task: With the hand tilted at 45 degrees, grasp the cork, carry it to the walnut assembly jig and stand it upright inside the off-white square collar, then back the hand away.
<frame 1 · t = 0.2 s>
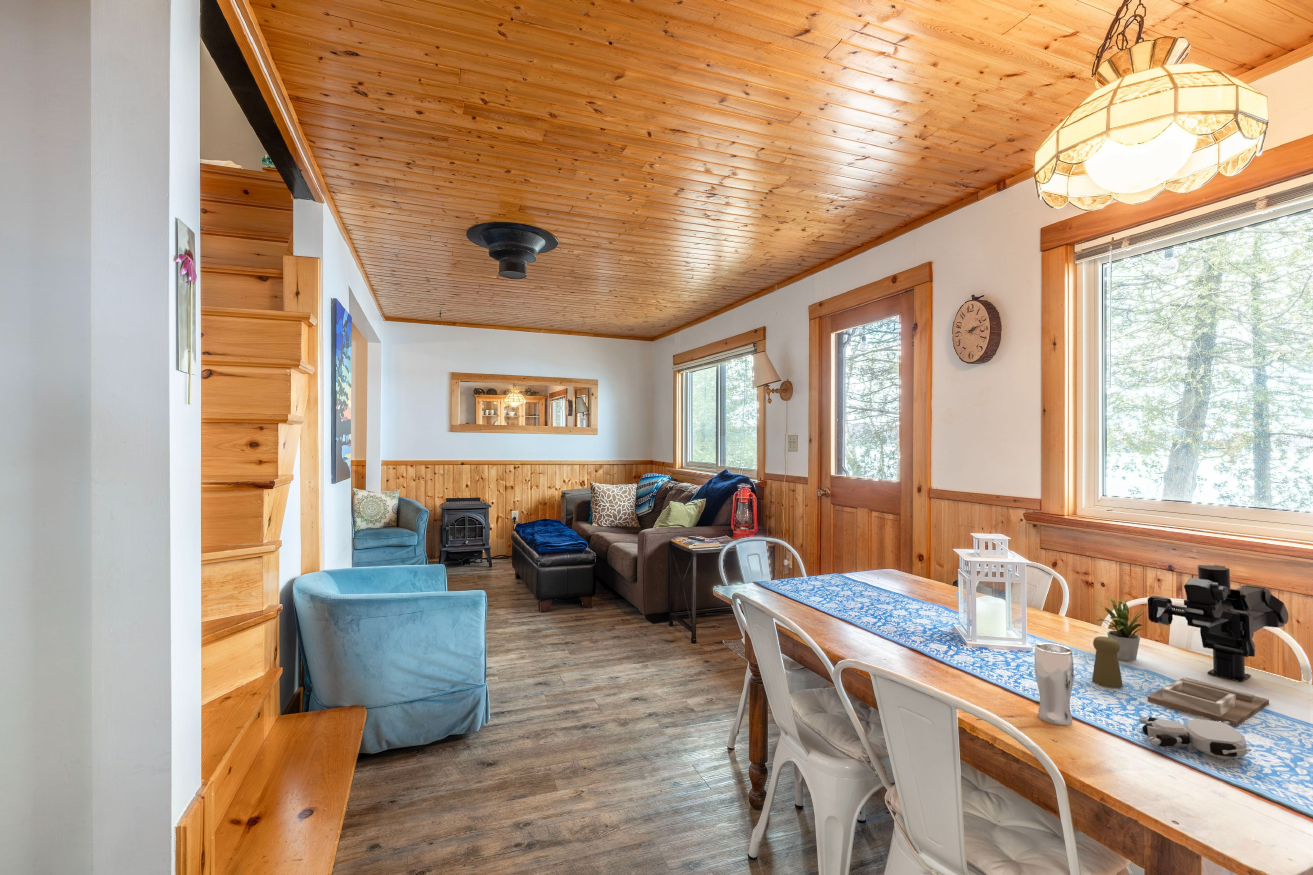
hand: (1181, 624, 137), 17 cm above the table, tool horizontal, fingers open, 9 cm apart
house plant: (1118, 656, 164), on the table
beer glass: (1055, 720, 127), on the table
assembly jig: (1207, 702, 134), on the table
robot toy: (1192, 749, 115), on the table
cork: (1107, 683, 146), on the table
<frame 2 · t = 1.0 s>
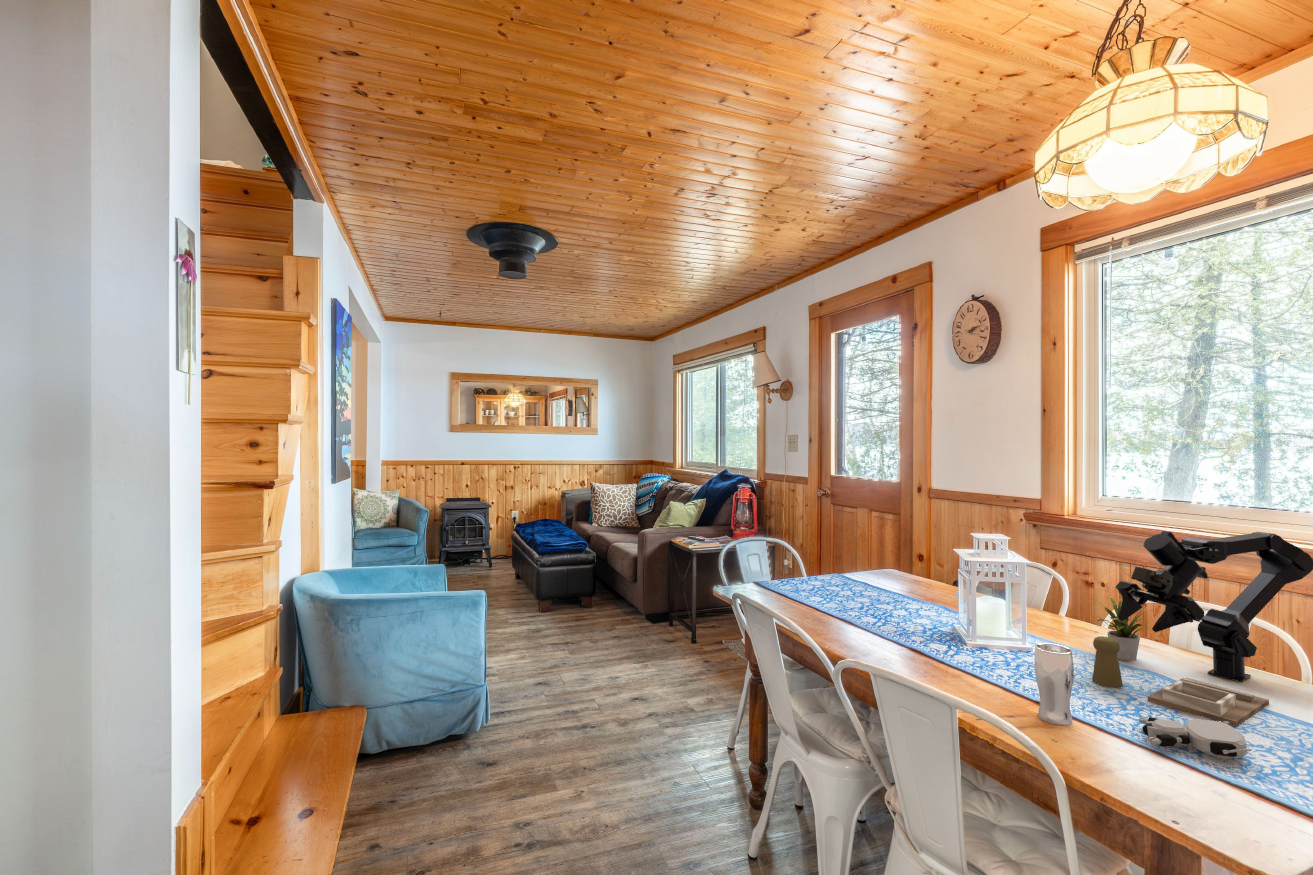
hand: (1136, 625, 147), 14 cm above the table, tool tilted 45°, fingers open, 9 cm apart
nothing on the table moved.
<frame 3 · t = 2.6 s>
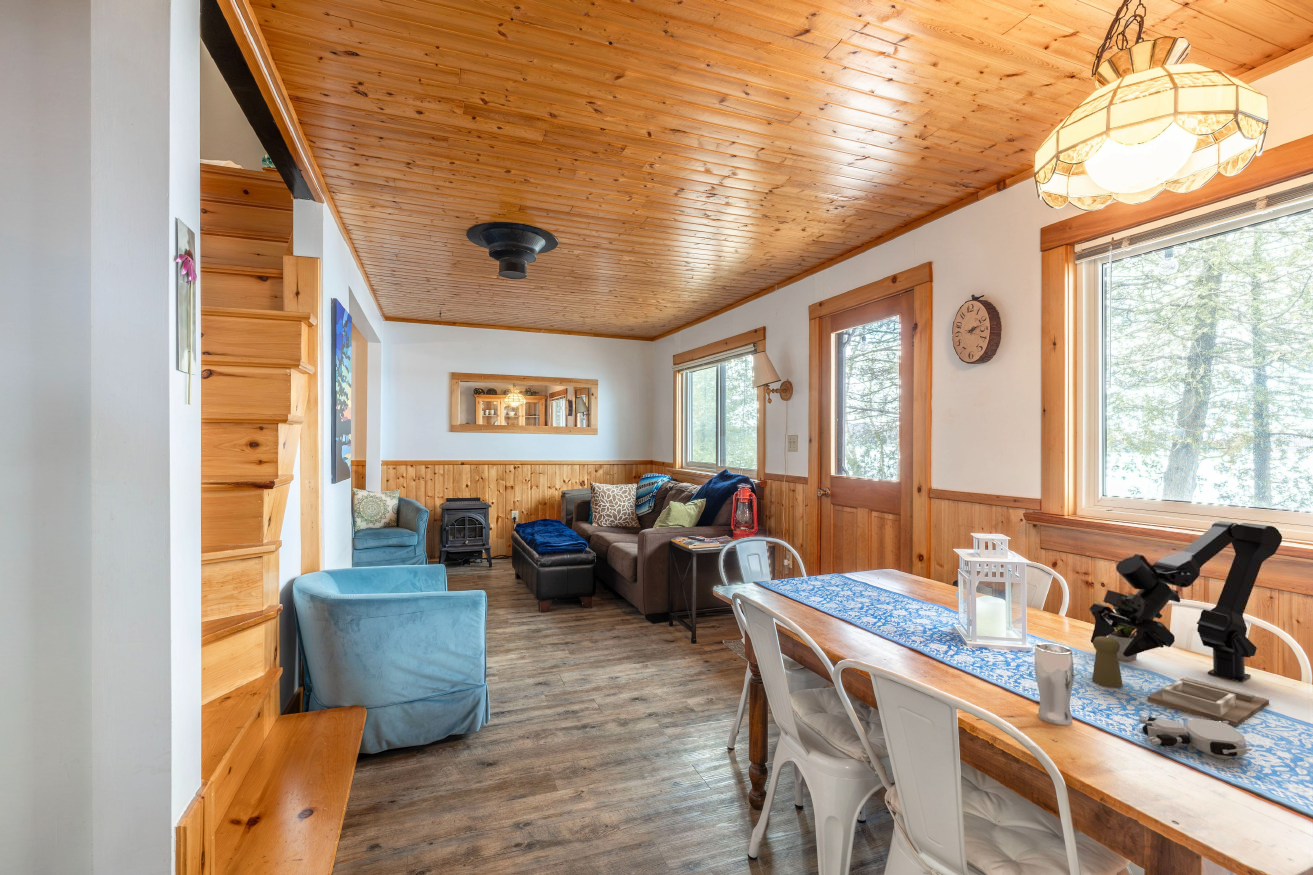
hand: (1108, 649, 146), 8 cm above the table, tool tilted 45°, fingers open, 9 cm apart
nothing on the table moved.
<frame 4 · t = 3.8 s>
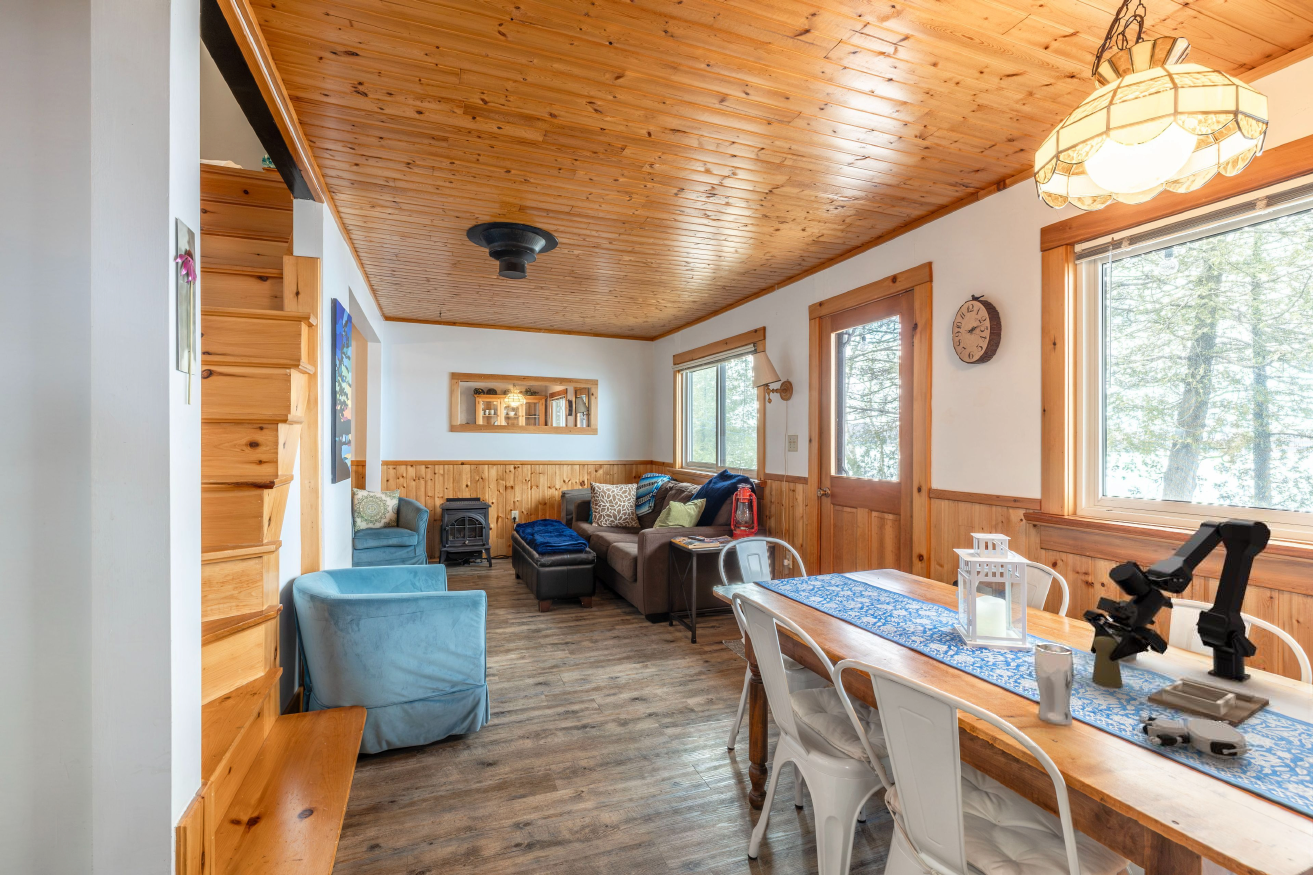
hand: (1101, 656, 146), 7 cm above the table, tool tilted 45°, fingers closed on cork, 5 cm apart
cork: (1107, 683, 146), on the table, touching gripper
everything else where it was.
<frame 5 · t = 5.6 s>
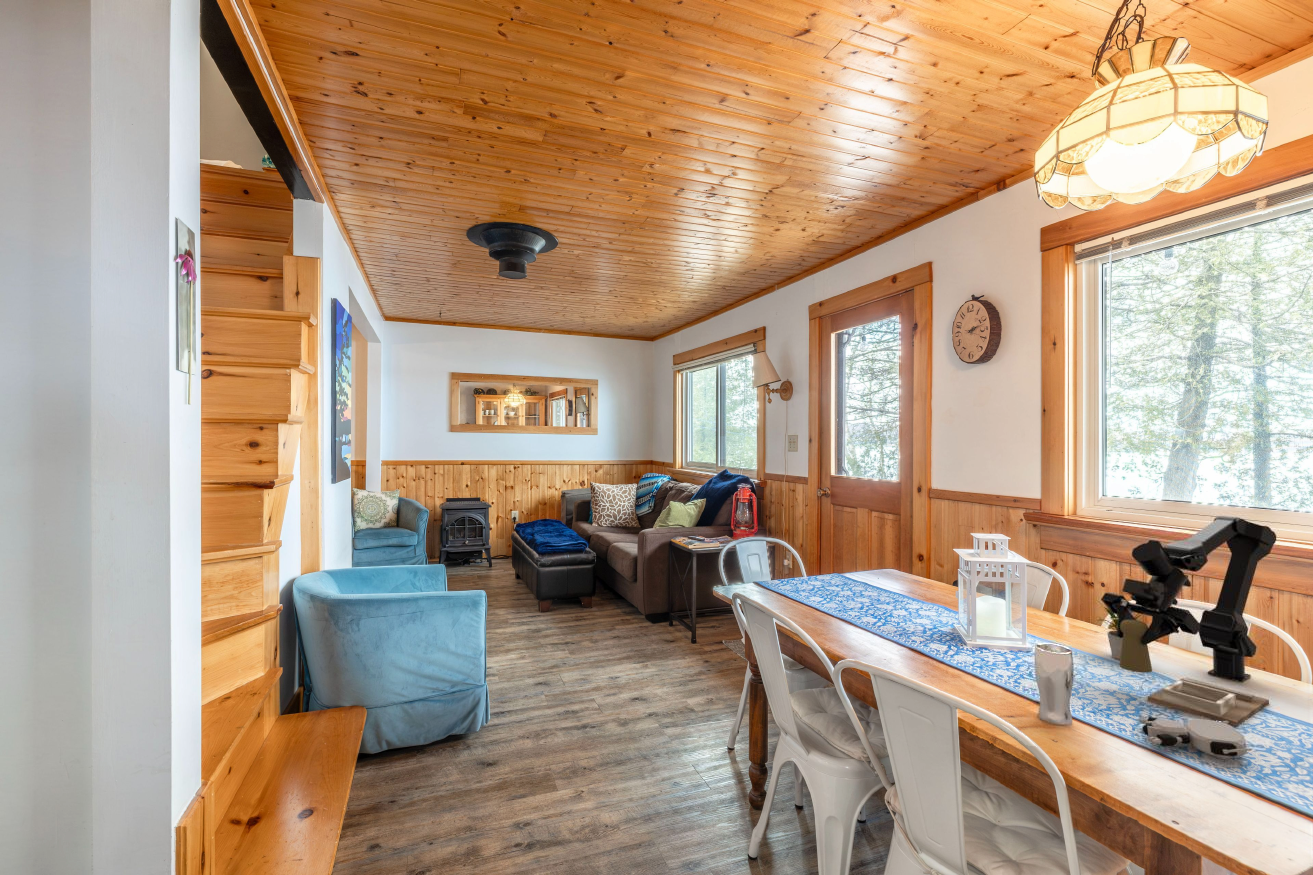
hand: (1130, 640, 140), 12 cm above the table, tool tilted 45°, fingers closed on cork, 5 cm apart
cork: (1135, 668, 141), point 5 cm above the table, touching gripper
everything else where it was.
when the fingers open (9 cm above the table, at t = 7.6 s): cork drops 1 cm, resting on assembly jig.
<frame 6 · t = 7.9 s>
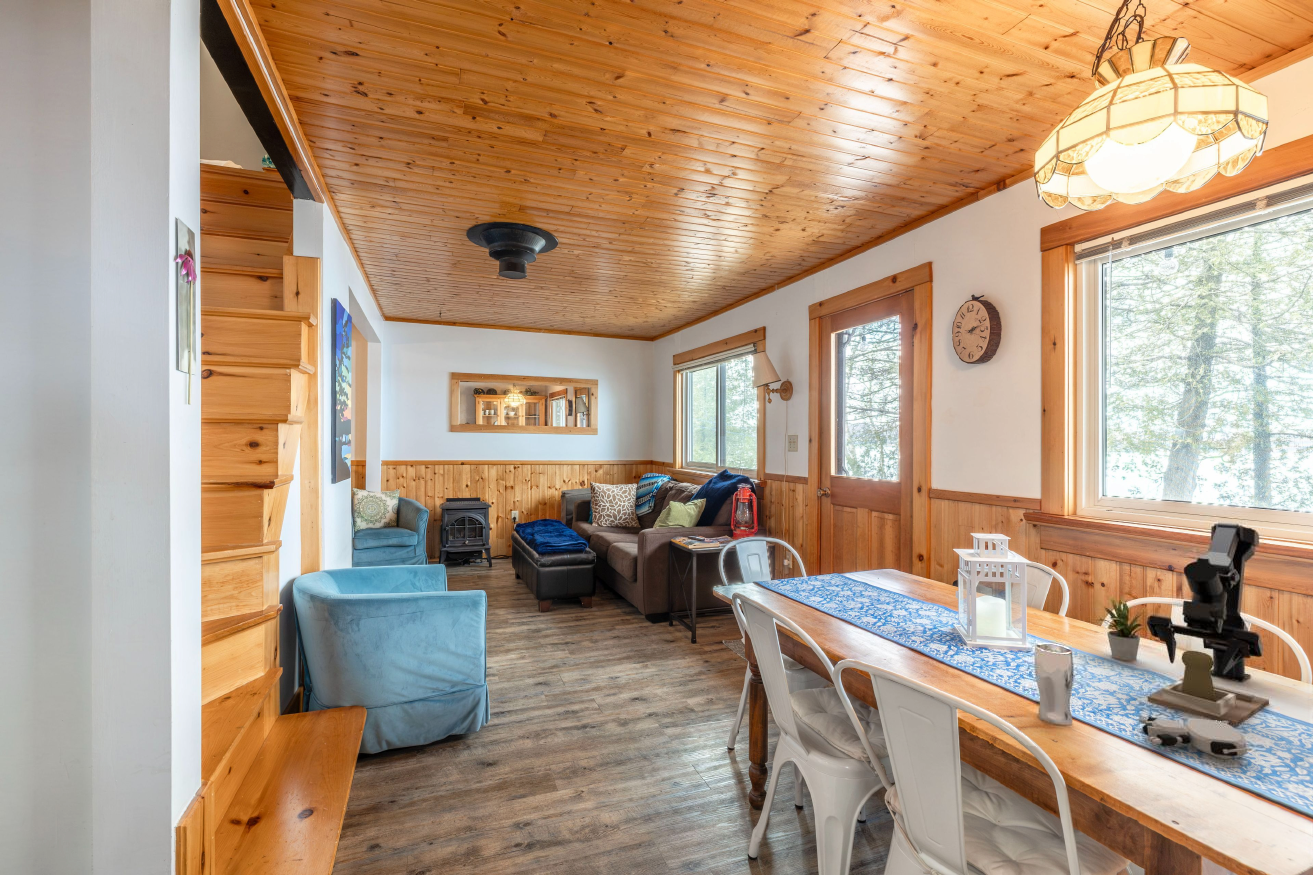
hand: (1196, 667, 131), 9 cm above the table, tool tilted 45°, fingers open, 8 cm apart
cork: (1198, 703, 132), point 1 cm above the table, touching assembly jig
everything else where it was.
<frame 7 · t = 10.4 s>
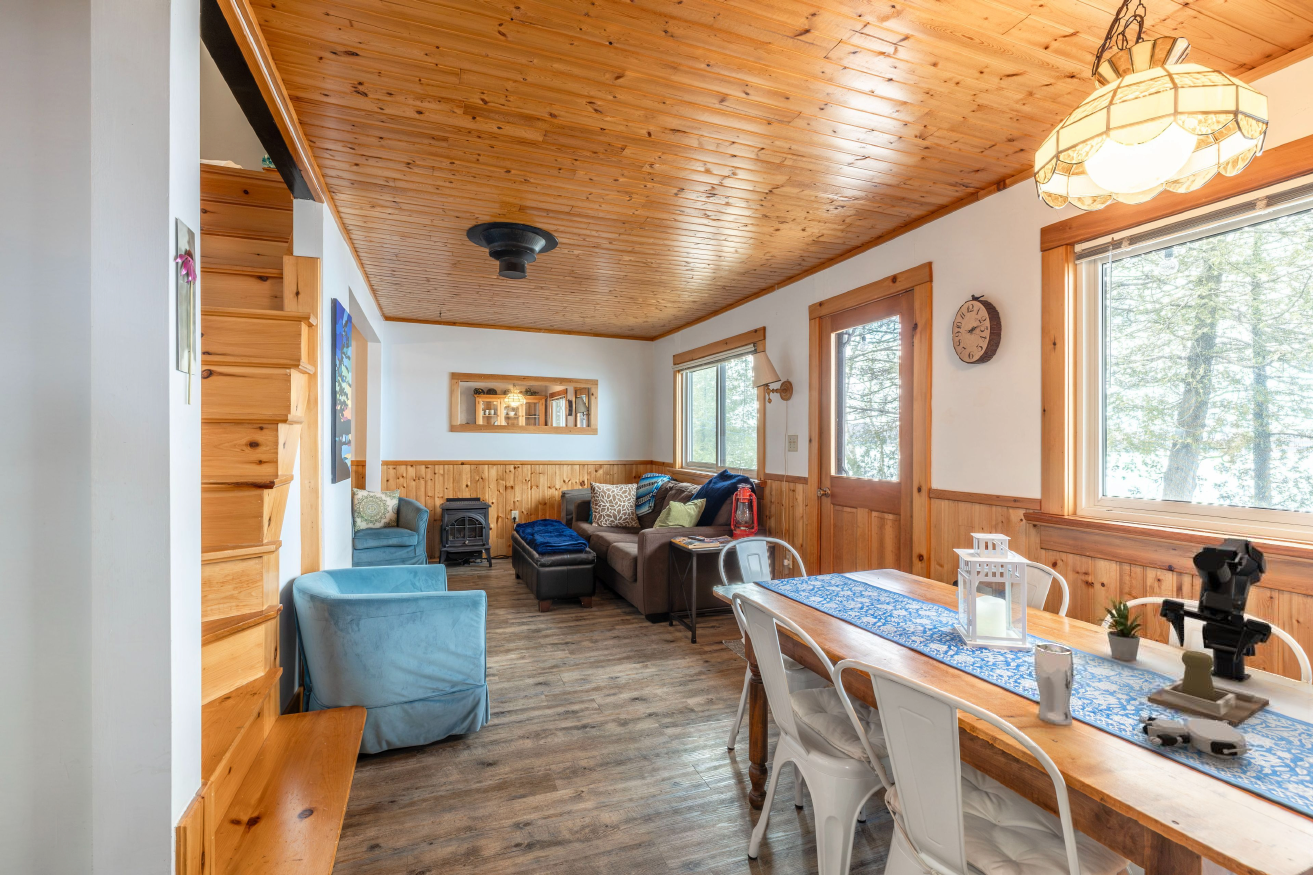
hand: (1208, 653, 137), 10 cm above the table, tool tilted 40°, fingers open, 9 cm apart
nothing on the table moved.
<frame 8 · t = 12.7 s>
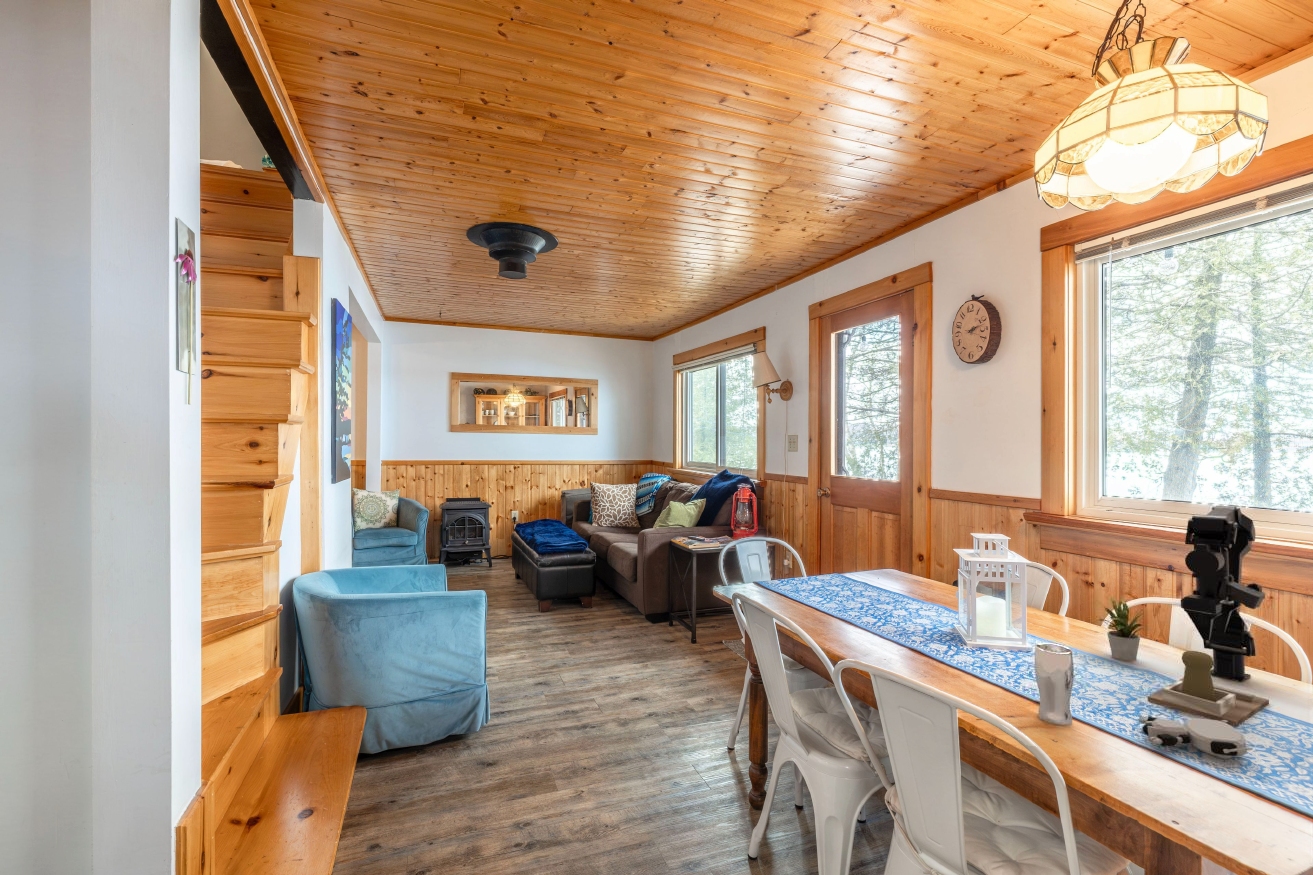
hand: (1213, 636, 140), 13 cm above the table, tool pointing down, fingers open, 9 cm apart
nothing on the table moved.
at the end: cork 0.1 cm from the target spot on the assembly jig, point 0.8 cm above the assembly jig's base; cork tilted 0°; the gripper is holding nothing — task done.
